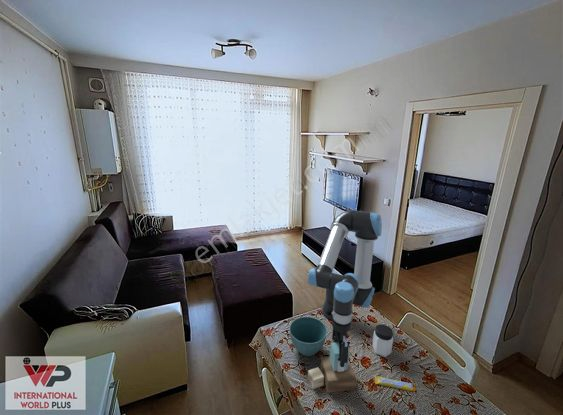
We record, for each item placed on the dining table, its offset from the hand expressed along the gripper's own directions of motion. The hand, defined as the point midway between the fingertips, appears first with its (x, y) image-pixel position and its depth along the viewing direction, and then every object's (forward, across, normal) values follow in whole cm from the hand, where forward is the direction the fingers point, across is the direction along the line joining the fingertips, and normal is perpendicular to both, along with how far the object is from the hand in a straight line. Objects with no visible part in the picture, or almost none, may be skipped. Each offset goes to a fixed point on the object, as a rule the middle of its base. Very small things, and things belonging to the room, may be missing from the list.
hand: (338, 363), depth 112 cm
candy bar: (+9, +5, +24) cm, 26 cm away
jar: (+8, -13, +27) cm, 31 cm away
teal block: (0, 0, 0) cm, 0 cm away
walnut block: (+8, 0, 0) cm, 8 cm away
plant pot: (+8, -17, -10) cm, 21 cm away
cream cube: (+8, +1, -10) cm, 13 cm away
